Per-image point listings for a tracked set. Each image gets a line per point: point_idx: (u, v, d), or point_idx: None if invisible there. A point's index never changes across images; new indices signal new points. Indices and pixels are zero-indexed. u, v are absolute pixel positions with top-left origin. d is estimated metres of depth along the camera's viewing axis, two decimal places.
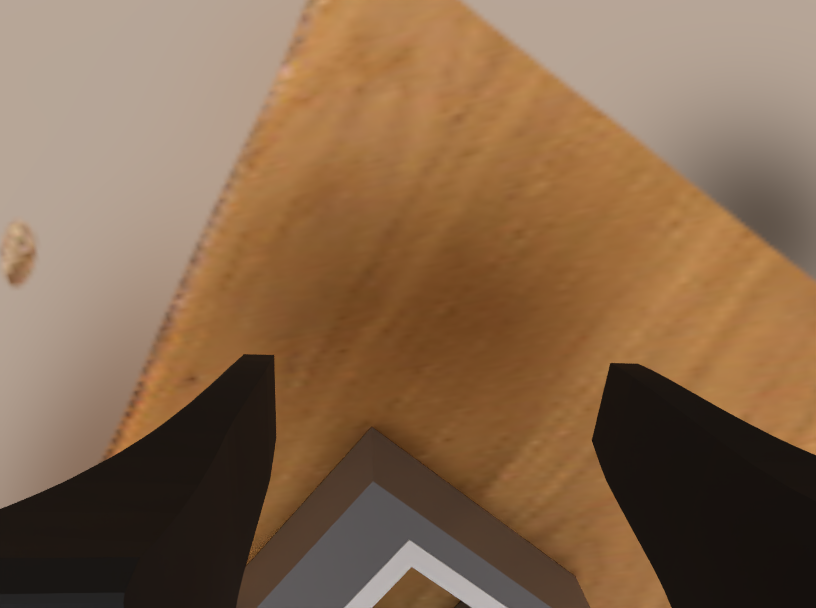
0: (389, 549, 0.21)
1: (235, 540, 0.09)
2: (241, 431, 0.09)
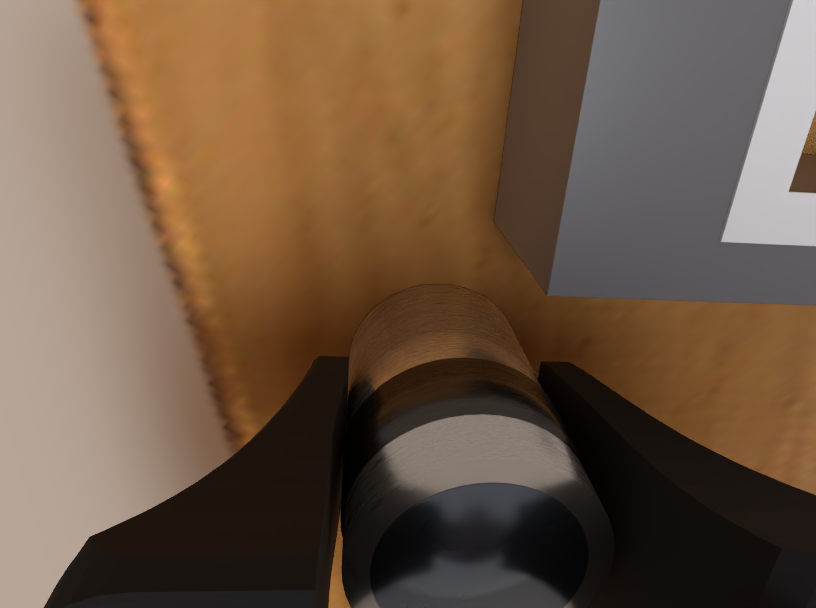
0: None
1: (330, 539, 0.10)
2: (336, 432, 0.09)
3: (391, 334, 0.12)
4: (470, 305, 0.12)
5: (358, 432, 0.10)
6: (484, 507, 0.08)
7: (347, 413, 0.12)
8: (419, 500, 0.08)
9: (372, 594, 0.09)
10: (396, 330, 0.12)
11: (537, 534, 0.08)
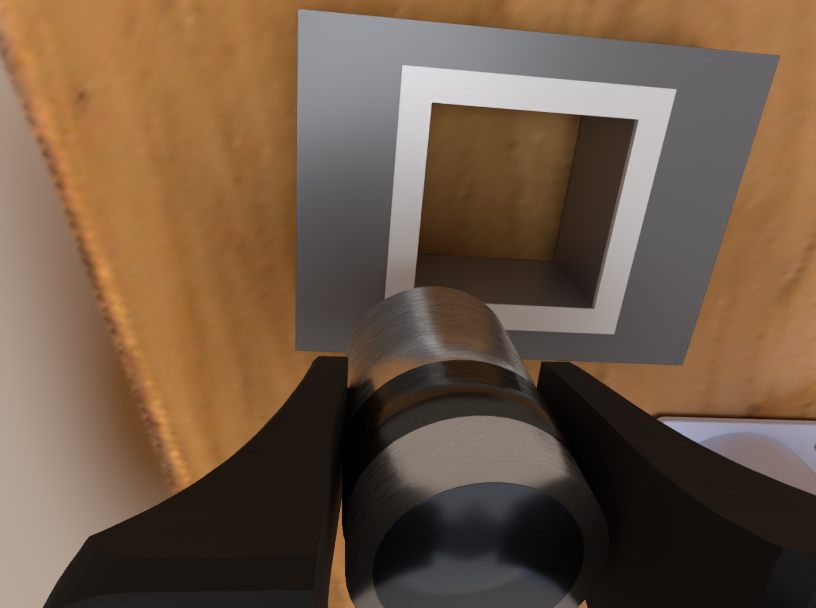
0: (389, 98, 0.15)
1: (329, 539, 0.10)
2: (336, 433, 0.09)
3: (395, 332, 0.12)
4: (471, 309, 0.13)
5: (362, 428, 0.10)
6: (489, 506, 0.08)
7: None
8: (428, 496, 0.08)
9: (373, 588, 0.09)
10: (399, 329, 0.12)
11: (538, 535, 0.09)
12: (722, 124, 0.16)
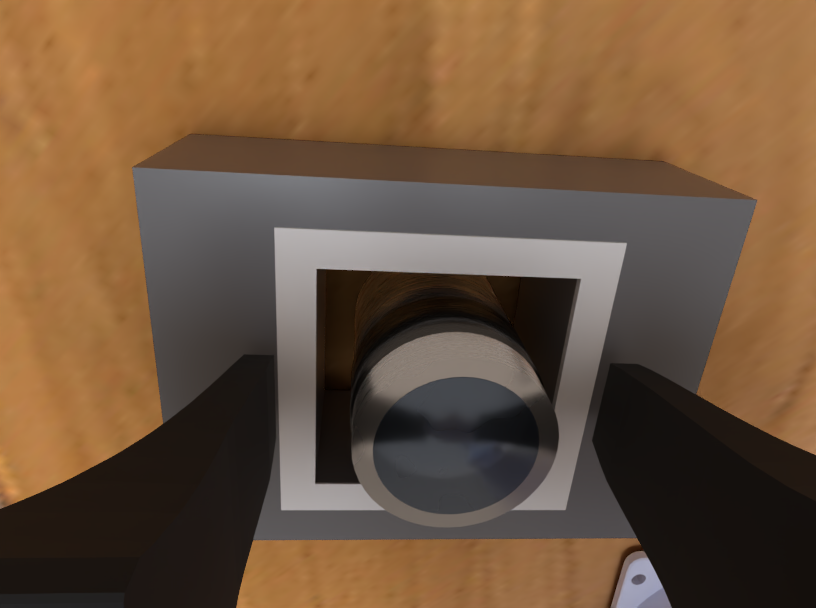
0: (263, 264, 0.12)
1: (235, 540, 0.09)
2: (241, 431, 0.09)
3: (398, 280, 0.14)
4: None
5: (369, 347, 0.13)
6: (464, 398, 0.11)
7: (355, 341, 0.14)
8: (417, 385, 0.11)
9: (373, 462, 0.11)
10: (401, 278, 0.14)
11: (502, 424, 0.11)
12: (687, 279, 0.12)
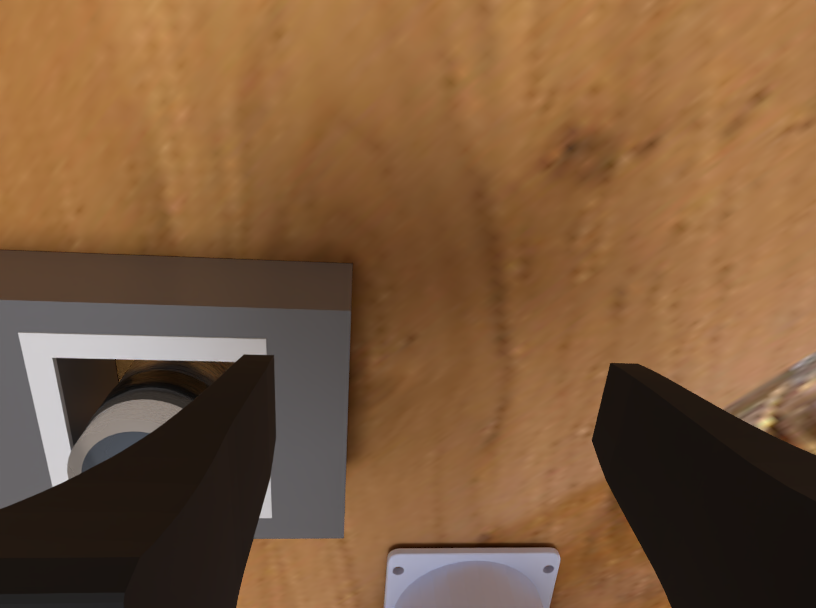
0: (16, 355, 0.17)
1: (235, 540, 0.09)
2: (242, 431, 0.09)
3: None
4: None
5: (101, 406, 0.18)
6: None
7: None
8: (103, 438, 0.16)
9: None
10: None
11: None
12: (317, 361, 0.18)
